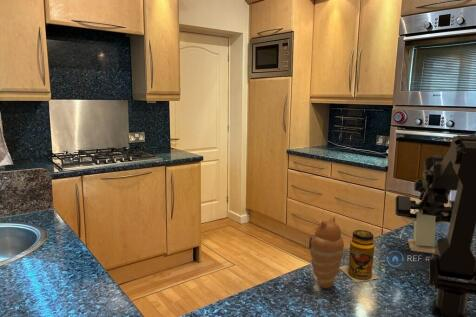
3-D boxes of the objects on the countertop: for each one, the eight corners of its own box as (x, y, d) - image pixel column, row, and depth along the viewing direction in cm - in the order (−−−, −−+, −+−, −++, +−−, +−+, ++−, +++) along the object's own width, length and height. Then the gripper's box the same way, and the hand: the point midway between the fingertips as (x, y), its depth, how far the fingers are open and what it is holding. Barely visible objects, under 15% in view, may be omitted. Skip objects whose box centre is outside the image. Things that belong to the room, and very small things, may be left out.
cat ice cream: (321, 275, 95) (325, 211, 92) (347, 287, 90) (353, 219, 86) (301, 286, 90) (304, 218, 86) (327, 300, 84) (332, 228, 81)
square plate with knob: (435, 253, 109) (437, 240, 109) (411, 250, 112) (412, 236, 111) (431, 244, 116) (433, 231, 115) (407, 241, 118) (409, 228, 117)
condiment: (356, 282, 92) (359, 239, 90) (337, 267, 100) (340, 227, 98) (379, 279, 94) (384, 236, 92) (359, 264, 102) (363, 224, 100)
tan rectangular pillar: (434, 246, 110) (435, 205, 108) (415, 245, 112) (416, 204, 110) (431, 240, 115) (433, 201, 113) (413, 239, 116) (414, 200, 115)
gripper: (469, 175, 103) (454, 201, 115) (399, 170, 108) (392, 195, 121) (474, 210, 97) (457, 233, 109) (399, 202, 102) (392, 225, 115)
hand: (423, 220), depth 113 cm, fingers closed on tan rectangular pillar, 5 cm apart
